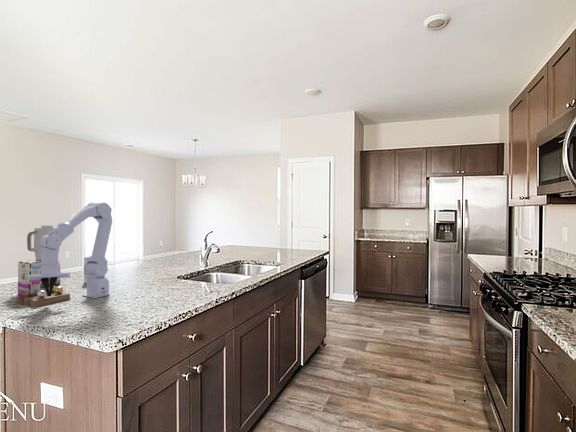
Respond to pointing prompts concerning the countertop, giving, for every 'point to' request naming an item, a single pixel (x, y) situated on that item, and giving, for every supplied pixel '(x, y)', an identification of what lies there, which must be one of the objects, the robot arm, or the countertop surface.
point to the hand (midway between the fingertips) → (49, 295)
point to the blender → (37, 249)
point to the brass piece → (58, 290)
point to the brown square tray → (42, 299)
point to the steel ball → (41, 294)
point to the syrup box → (84, 272)
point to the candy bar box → (23, 271)
